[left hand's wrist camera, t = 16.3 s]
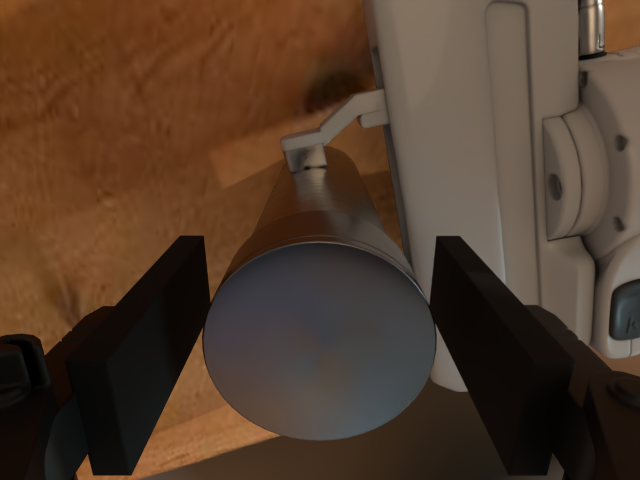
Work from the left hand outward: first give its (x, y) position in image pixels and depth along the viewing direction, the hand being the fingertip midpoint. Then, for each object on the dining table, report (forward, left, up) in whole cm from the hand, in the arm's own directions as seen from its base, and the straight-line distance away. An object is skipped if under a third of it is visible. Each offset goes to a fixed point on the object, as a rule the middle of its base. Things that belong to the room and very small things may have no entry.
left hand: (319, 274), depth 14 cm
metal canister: (0, 0, +4) cm, 4 cm away
